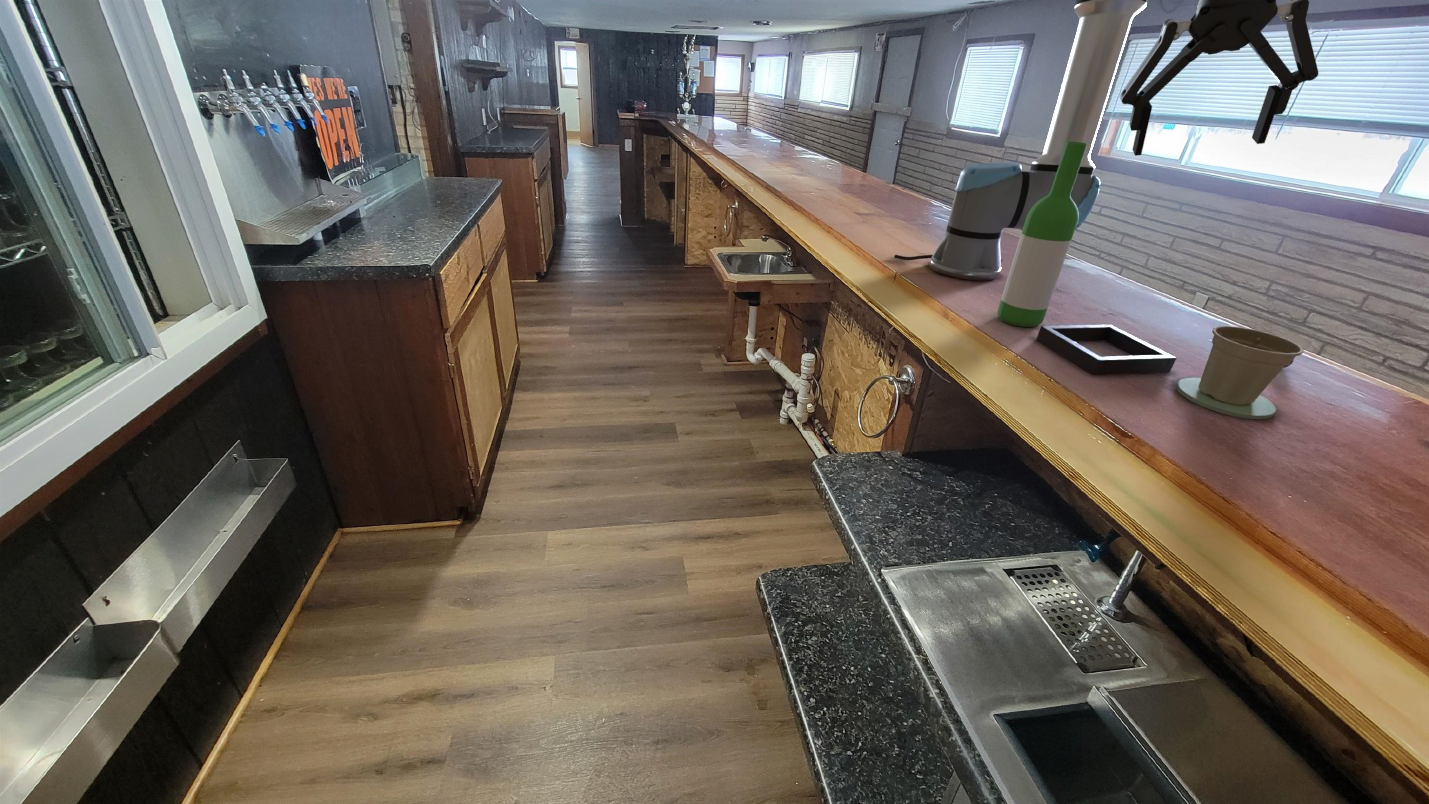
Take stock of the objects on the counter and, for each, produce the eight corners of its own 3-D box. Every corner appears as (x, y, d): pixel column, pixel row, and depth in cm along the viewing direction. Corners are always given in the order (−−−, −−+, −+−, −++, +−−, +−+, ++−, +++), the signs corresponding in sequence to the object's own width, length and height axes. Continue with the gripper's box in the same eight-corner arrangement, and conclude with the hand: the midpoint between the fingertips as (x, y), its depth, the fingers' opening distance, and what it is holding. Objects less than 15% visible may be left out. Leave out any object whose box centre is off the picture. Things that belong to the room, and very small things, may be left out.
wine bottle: (994, 323, 102) (1050, 142, 87) (996, 310, 108) (1048, 139, 93) (1042, 332, 99) (1108, 146, 84) (1041, 318, 105) (1102, 143, 90)
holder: (1093, 375, 85) (1099, 360, 83) (1036, 339, 96) (1040, 325, 95) (1169, 372, 87) (1177, 357, 85) (1105, 337, 98) (1110, 324, 97)
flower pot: (1236, 382, 83) (1267, 328, 79) (1286, 415, 75) (1324, 356, 71) (1170, 377, 84) (1197, 323, 79) (1212, 409, 76) (1245, 350, 71)
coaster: (1174, 400, 79) (1176, 396, 78) (1177, 374, 86) (1179, 370, 86) (1276, 428, 73) (1279, 424, 73) (1271, 397, 81) (1273, 394, 80)
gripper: (1124, -8, 70) (1093, 165, 83) (1411, -65, 59) (1324, 144, 72) (1117, -17, 75) (1089, 148, 88) (1380, -71, 64) (1304, 126, 77)
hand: (1195, 147), depth 80 cm, fingers open, 13 cm apart
